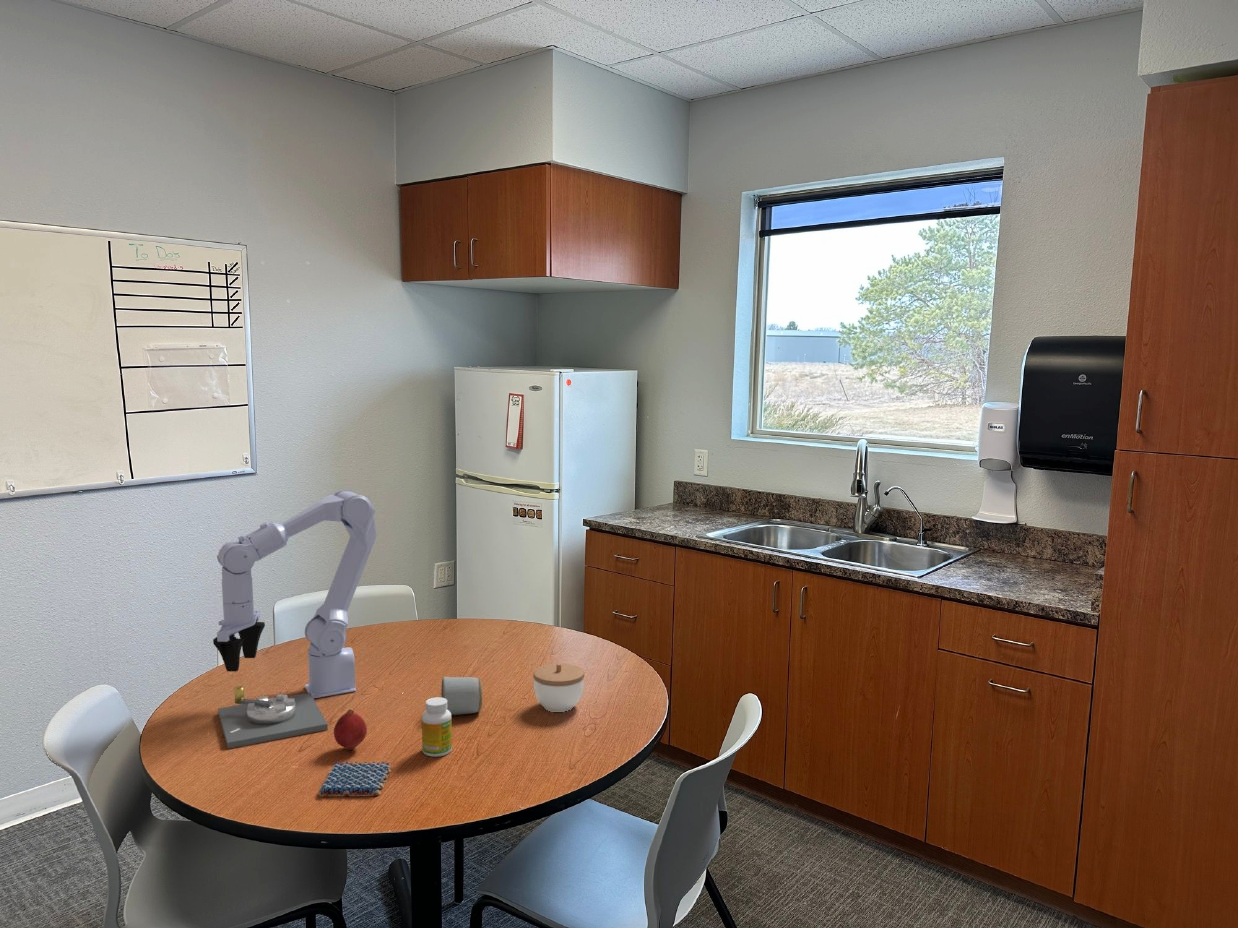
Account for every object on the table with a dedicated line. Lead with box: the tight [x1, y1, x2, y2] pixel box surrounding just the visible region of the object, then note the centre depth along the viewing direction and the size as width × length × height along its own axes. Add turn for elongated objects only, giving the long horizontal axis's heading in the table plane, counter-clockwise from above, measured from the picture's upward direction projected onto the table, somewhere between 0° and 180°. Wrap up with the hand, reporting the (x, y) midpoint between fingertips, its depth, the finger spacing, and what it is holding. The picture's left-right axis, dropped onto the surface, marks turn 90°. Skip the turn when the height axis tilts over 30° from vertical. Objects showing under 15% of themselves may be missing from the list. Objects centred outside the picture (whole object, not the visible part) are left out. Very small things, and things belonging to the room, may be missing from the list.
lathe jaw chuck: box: [233, 685, 296, 725], centre depth 174 cm, size 12×9×5 cm
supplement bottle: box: [421, 696, 453, 758], centre depth 162 cm, size 5×5×10 cm
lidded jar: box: [532, 662, 585, 713], centre depth 183 cm, size 11×11×9 cm
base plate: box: [217, 692, 329, 750], centre depth 174 cm, size 18×18×1 cm
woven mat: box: [317, 761, 392, 798], centre depth 150 cm, size 10×11×2 cm
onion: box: [333, 708, 368, 751], centre depth 162 cm, size 6×6×8 cm
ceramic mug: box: [440, 676, 483, 716], centre depth 181 cm, size 11×8×8 cm
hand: (241, 664), depth 180 cm, fingers open, 7 cm apart
